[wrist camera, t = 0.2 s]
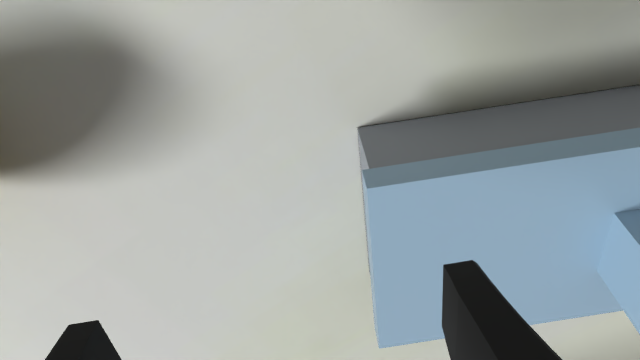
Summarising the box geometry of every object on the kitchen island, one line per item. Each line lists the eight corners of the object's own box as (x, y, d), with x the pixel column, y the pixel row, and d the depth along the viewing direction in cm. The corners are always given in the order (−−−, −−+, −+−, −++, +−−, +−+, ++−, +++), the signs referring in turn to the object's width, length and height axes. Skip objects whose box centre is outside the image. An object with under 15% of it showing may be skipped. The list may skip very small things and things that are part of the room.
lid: (663, 283, 24) (734, 374, 20) (374, 328, 24) (396, 427, 20) (734, 113, 18) (846, 196, 15) (361, 170, 18) (388, 267, 15)
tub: (621, 232, 26) (658, 279, 24) (369, 271, 26) (381, 323, 23) (668, 80, 21) (722, 121, 19) (357, 128, 21) (371, 175, 18)
